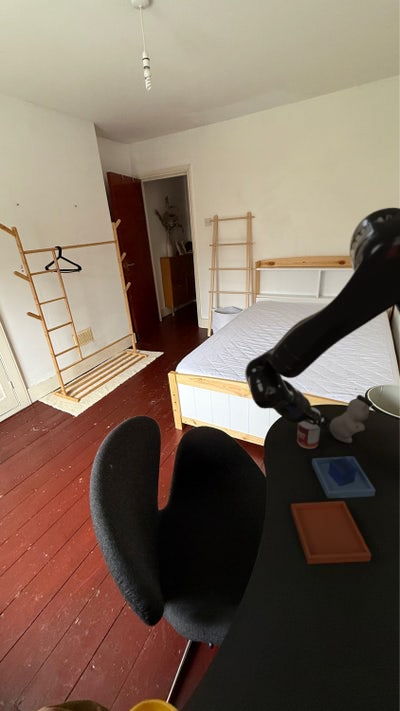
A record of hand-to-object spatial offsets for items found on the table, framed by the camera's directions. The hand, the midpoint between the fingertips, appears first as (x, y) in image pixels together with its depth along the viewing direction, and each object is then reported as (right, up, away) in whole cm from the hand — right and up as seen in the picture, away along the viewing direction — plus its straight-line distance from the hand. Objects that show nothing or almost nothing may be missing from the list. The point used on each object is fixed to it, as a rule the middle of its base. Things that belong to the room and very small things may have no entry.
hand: (308, 419), depth 85 cm
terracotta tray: (-4, -20, -21) cm, 29 cm away
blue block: (+5, -13, -9) cm, 17 cm away
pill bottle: (+1, -8, +4) cm, 9 cm away
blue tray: (+5, -14, -9) cm, 17 cm away
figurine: (+13, -7, +5) cm, 16 cm away
